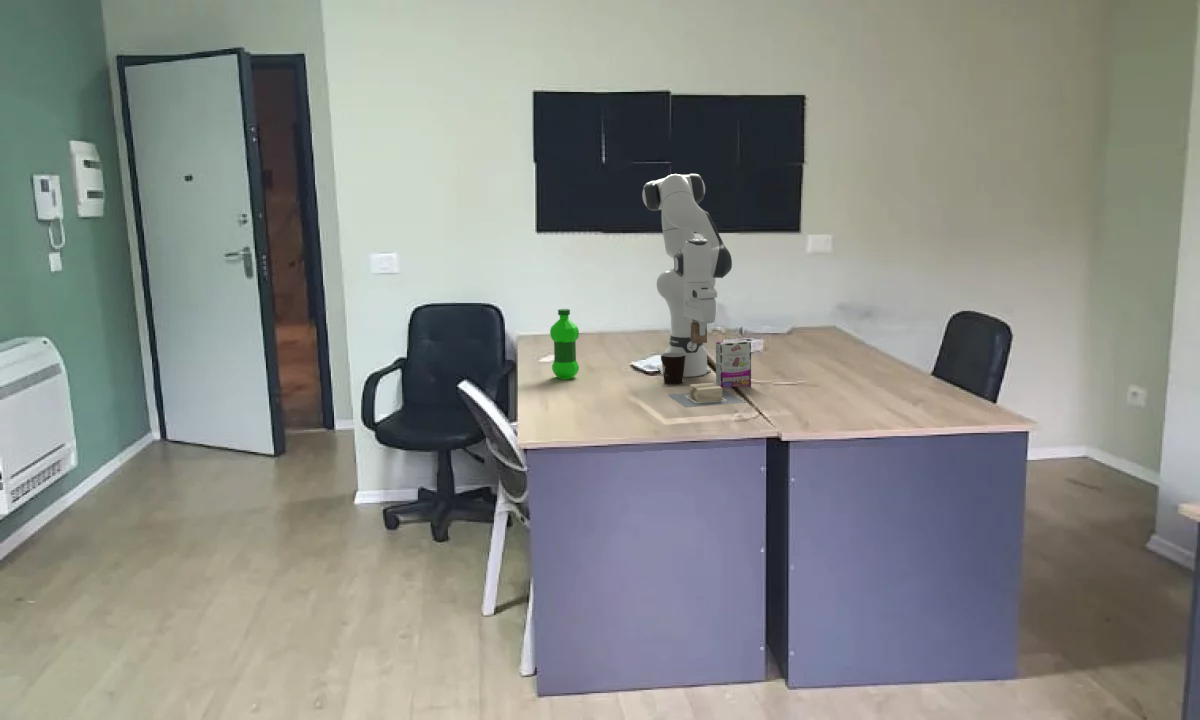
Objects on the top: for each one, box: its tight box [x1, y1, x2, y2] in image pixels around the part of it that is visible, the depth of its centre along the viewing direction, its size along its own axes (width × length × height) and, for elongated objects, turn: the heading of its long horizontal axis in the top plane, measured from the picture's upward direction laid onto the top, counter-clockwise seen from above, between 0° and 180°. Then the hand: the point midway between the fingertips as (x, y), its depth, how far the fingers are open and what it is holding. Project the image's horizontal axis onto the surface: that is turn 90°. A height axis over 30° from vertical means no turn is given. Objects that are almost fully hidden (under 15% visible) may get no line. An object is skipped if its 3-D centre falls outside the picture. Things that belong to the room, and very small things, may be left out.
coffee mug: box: [660, 352, 686, 385], centre depth 330 cm, size 12×9×10 cm
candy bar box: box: [715, 339, 752, 388], centre depth 316 cm, size 11×5×16 cm, turn 105°
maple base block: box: [689, 382, 723, 402], centre depth 298 cm, size 8×8×4 cm
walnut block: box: [691, 323, 708, 344], centre depth 296 cm, size 4×4×6 cm
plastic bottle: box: [549, 308, 580, 380], centre depth 338 cm, size 10×10×25 cm
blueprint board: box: [667, 389, 747, 408], centre depth 298 cm, size 18×20×2 cm
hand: (698, 334), depth 296 cm, fingers closed on walnut block, 4 cm apart
